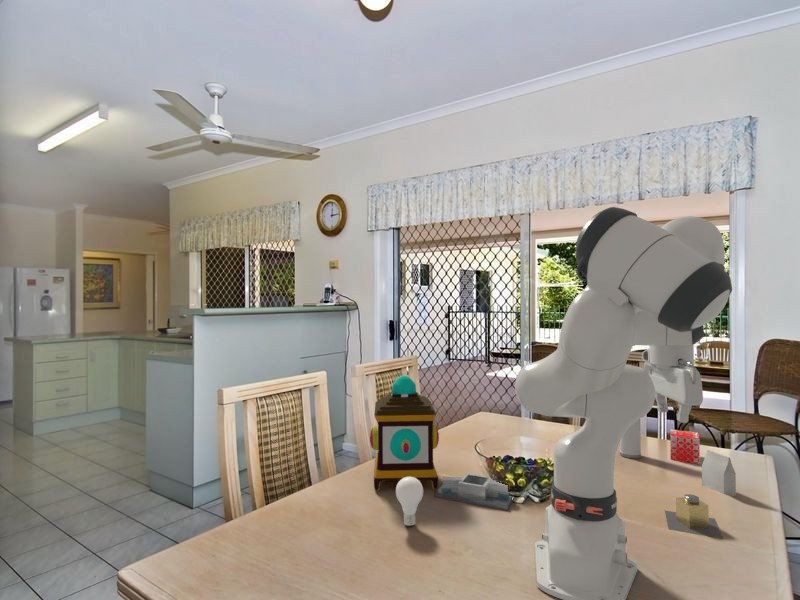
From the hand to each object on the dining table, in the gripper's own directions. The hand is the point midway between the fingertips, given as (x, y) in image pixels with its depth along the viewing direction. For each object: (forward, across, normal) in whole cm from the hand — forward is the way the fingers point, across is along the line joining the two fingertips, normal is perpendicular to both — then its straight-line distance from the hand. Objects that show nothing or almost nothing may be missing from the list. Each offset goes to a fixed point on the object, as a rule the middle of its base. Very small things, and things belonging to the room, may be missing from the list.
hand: (672, 416), depth 107 cm
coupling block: (+23, -2, -3) cm, 24 cm away
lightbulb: (+24, -7, +61) cm, 66 cm away
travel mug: (+25, +47, -8) cm, 53 cm away
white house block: (+25, +19, -20) cm, 37 cm away
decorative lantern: (+24, +21, +64) cm, 72 cm away
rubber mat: (+24, -2, -3) cm, 24 cm away
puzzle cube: (+25, +46, -24) cm, 58 cm away
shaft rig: (+24, +10, +45) cm, 52 cm away
